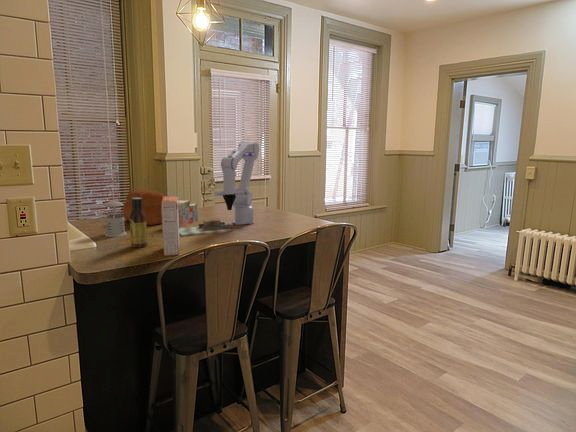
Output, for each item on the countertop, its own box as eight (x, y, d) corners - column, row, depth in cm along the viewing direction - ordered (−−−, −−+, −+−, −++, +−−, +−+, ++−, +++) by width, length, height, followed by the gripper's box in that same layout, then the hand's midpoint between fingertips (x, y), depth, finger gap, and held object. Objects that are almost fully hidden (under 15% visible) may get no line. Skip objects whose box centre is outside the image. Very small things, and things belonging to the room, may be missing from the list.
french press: (104, 237, 180) (101, 180, 176) (102, 232, 191) (99, 178, 186) (128, 235, 185) (125, 180, 180) (125, 230, 195) (122, 177, 191)
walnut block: (217, 226, 203) (217, 218, 202) (220, 228, 199) (220, 220, 198) (203, 228, 200) (203, 220, 199) (206, 229, 196) (206, 221, 195)
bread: (143, 227, 203) (142, 193, 200) (120, 221, 216) (118, 189, 213) (173, 222, 216) (172, 190, 213) (149, 217, 229) (148, 187, 226)
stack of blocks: (187, 219, 224) (186, 197, 222) (197, 220, 223) (197, 198, 220) (168, 227, 203) (167, 203, 201) (180, 228, 202) (179, 203, 200)
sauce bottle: (133, 244, 170) (131, 196, 167) (149, 244, 171) (147, 196, 167) (129, 248, 164) (126, 198, 160) (145, 248, 164) (142, 199, 161)
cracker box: (164, 247, 167) (162, 196, 163) (180, 246, 168) (178, 195, 165) (162, 256, 154) (160, 201, 150) (179, 255, 155) (177, 200, 151)
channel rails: (224, 225, 206) (223, 221, 206) (229, 228, 200) (229, 224, 199) (198, 227, 200) (198, 223, 200) (203, 231, 193) (203, 226, 193)
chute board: (221, 226, 209) (221, 224, 209) (231, 231, 197) (231, 230, 197) (174, 230, 198) (174, 228, 197) (181, 236, 186) (181, 234, 185)
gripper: (217, 183, 193) (218, 212, 195) (246, 182, 200) (246, 210, 202) (212, 182, 199) (213, 209, 201) (240, 181, 206) (240, 208, 208)
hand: (229, 209), depth 202 cm, fingers closed
